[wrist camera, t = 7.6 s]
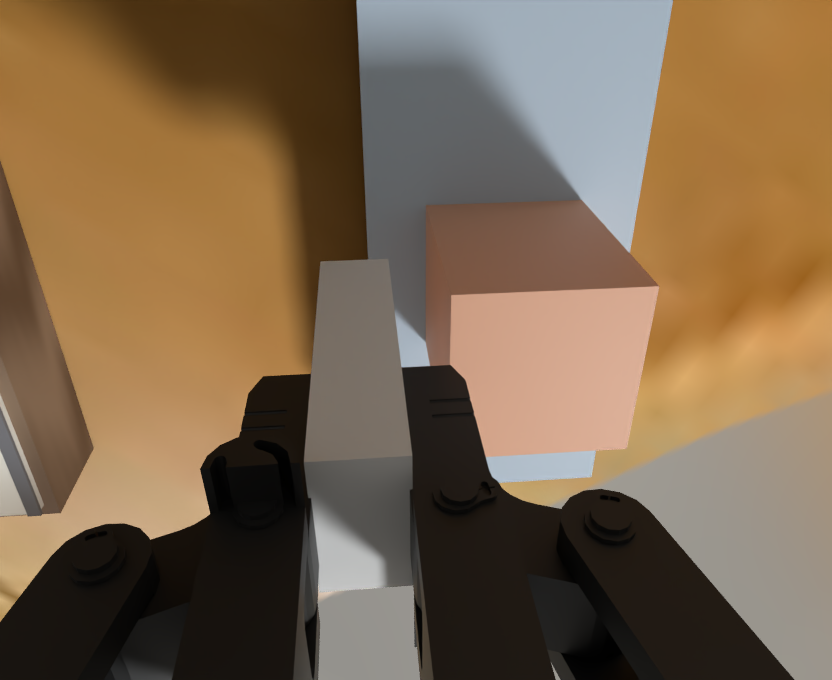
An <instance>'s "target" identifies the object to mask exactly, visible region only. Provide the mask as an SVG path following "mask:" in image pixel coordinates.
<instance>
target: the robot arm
mask: <svg viewBox="0 0 832 680" xmlns="http://www.w3.org/2000/svg"><path fill="white" fill-rule="evenodd" d="M200 470H201V475H202V479H203V483H204V488H205V492H206V496H207V501H208V505H209V509H210V515H209V516H207V517H206V518H204V519H203V520H201V521H199V522H198V523H196V524H195V525H192V526H190V527H187V528H185V529H182V530H180V531H177V532H174V533H170V534H167V535H164V536H161V537H158V538H155V539H151V540H150V539H149V537H148V536H147V535H146V534H145V533H144V532H143V531H142V530H141V529H140V528H137V527H134V526H131V525H128V524H105V525H101V526H98V527H95V528H91V529H88V530H85V531H83V532H82V533H80V534H78V535H76V536H75V537H73V538H71V539H69V540H68V541H66V542H65V543H64V544H63V545H62V546H61V547H60V548H59V549H58V550H57V551H56V552H55V553H54V554H53V555H52V556H51V557H50V558H49V560H48V561H47V562H46V563H45V565H44V566H43V567H42V569H41V570H40V571H39V573H38V574H37V575H36V576H35V578H34V579H33V580H32V582H31V583H30V584H29V585H28V587H27V588H26V589H25V591H24V592H23V593H22V595H21V596H20V597H19V598H18V600H17V601H16V602H15V604H14V605H13V606H12V607H11V609H10V610H9V611H8V613H7V614H6V615H5V617H4V618H3V619H2V620H1V622H0V680H318V666H319V665H318V664H319V639H320V620H319V612H318V604H317V601H318V584H319V592H331V591H344V590H357V589H371V588H384V587H397V586H410V585H413V587H414V627H415V628H414V629H415V632H414V633H415V647H417V650H418V661H419V671H420V680H556V679H555V676H554V672H553V669H552V665H553V666H554V668H555V670H556V672H557V674H558V676H559V677H560V679H561V680H794V679H793V678H792V676H790V674H789V673H788V672H787V671H786V669H785V668H784V667H783V666H782V665H781V664H780V663H779V661H778V660H777V659H776V658H775V657H774V655H773V654H772V653H771V652H770V651H769V650H768V648H767V647H766V646H765V645H764V644H763V643H762V641H761V640H760V639H759V638H758V637H757V636H756V634H755V633H754V632H753V631H752V630H751V629H750V627H749V626H748V625H747V624H746V623H745V622H744V620H743V619H742V618H741V617H740V616H739V615H738V613H737V612H736V611H735V610H734V609H733V608H732V606H731V605H730V604H729V603H728V602H727V601H726V599H725V598H724V597H723V596H722V595H721V594H720V592H719V591H718V590H717V589H716V588H715V587H714V585H713V584H712V583H711V582H710V581H709V580H708V578H707V577H706V576H705V575H704V574H703V573H702V571H701V570H700V569H699V568H698V567H697V565H695V563H694V562H693V561H692V560H691V558H690V557H689V556H688V555H687V554H686V553H685V551H684V550H683V549H682V548H681V547H680V546H679V545H678V544H677V542H676V541H675V540H674V539H673V538H672V536H671V535H670V534H669V533H668V532H667V530H666V529H665V528H664V527H663V526H662V525H661V523H660V522H659V521H658V520H657V519H656V518H655V516H654V515H653V514H652V513H651V512H650V511H649V510H648V509H646V508H645V507H644V506H643V505H642V504H641V503H639V502H638V501H637V500H635V499H633V498H631V497H629V496H626V495H624V494H622V493H620V492H615V491H609V490H603V489H597V490H586V491H582V492H580V493H578V494H576V495H574V496H572V497H570V498H569V500H568V501H567V502H566V503H565V505H564V506H563V507H562V509H558V508H553V507H548V506H542V505H537V504H533V503H529V502H526V501H522V500H520V499H518V498H516V497H514V496H512V495H510V494H509V493H507V492H506V491H505V490H503V489H502V488H501V486H500V484H499V483H498V481H497V480H496V479H494V478H493V477H492V475H491V473H490V471H489V468H488V464H487V460H486V456H485V452H484V449H483V445H482V441H481V437H480V433H479V429H478V426H477V422H476V418H475V416H474V410H473V407H472V403H471V401H470V395H469V391H468V387H467V384H466V380H465V379H464V378H463V377H462V376H461V375H460V374H459V373H458V372H457V371H456V370H455V369H454V368H453V367H452V366H451V365H439V366H419V367H401V359H400V351H399V343H398V335H397V326H396V318H395V310H394V302H393V294H392V286H391V278H390V269H389V261H388V259H369V260H344V261H320V273H319V285H318V297H317V309H316V321H315V333H314V345H313V357H312V370H311V374H300V375H281V376H263V377H262V379H261V380H260V381H259V382H258V383H257V384H256V385H255V387H254V388H253V389H252V390H251V391H250V392H249V394H248V398H247V403H246V408H245V416H244V417H243V422H242V426H241V431H240V436H239V437H238V438H235V439H233V440H231V441H229V442H226V443H224V444H222V445H220V446H219V447H218V448H216V449H215V450H214V451H213V452H212V453H210V454H209V455H208V456H207V457H206V459H205V461H204V463H203V465H202V466H201V468H200ZM551 663H552V665H551Z"/></svg>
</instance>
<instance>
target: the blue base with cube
mask: <svg viewBox="0 0 832 680" xmlns="http://www.w3.org/2000/svg"><path fill="white" fill-rule="evenodd" d="M672 3H673V0H356V7H357V29H358V51H359V72H360V94H361V116H362V138H363V160H364V182H365V204H366V226H367V248H368V260H369V259H388V261H389V269H390V278H391V286H392V294H393V302H394V310H395V318H396V326H397V335H398V343H399V351H400V359H401V367H419V366H439V365H451V366H452V367H453V368H454V369H455V370H456V371H457V372H458V373H459V374H460V375H461V376H462V377H463V378H464V379H465V380H466V384H467V387H468V391H469V395H470V401H471V403H472V407H473V410H474V416H475V418H476V422H477V426H478V429H479V433H480V437H481V441H482V445H483V449H484V452H485V456H486V460H487V464H488V468H489V471H490V473H491V475H492V477H493V478H494V479H496V480H497V481H498V483H503V482H519V481H535V480H551V479H567V478H583V477H591V476H592V470H593V464H594V458H595V452H596V450H613V449H627V444H628V439H629V434H630V429H631V424H632V419H633V414H634V409H635V404H636V399H637V394H638V389H639V384H640V379H641V374H642V370H643V365H644V360H645V355H646V350H647V345H648V340H649V335H650V330H651V325H652V320H653V315H654V310H655V305H656V300H657V295H658V290H659V285H658V284H657V283H656V282H655V281H654V280H653V279H652V278H651V277H650V275H649V274H648V273H647V272H646V271H645V270H644V269H643V268H642V266H641V265H640V264H639V263H638V262H637V261H636V260H635V259H634V258H633V256H632V255H631V254H630V248H631V242H632V236H633V231H634V225H635V219H636V213H637V207H638V201H639V196H640V190H641V184H642V178H643V172H644V166H645V161H646V155H647V149H648V143H649V137H650V131H651V126H652V120H653V114H654V108H655V102H656V96H657V90H658V85H659V79H660V73H661V67H662V61H663V55H664V50H665V44H666V38H667V32H668V26H669V20H670V15H671V9H672Z"/></svg>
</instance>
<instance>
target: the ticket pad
mask: <svg viewBox="0 0 832 680" xmlns="http://www.w3.org/2000/svg"><path fill="white" fill-rule="evenodd" d="M92 450H93V445H92V442H91V439H90V436H89V433H88V430H87V427H86V424H85V420H84V417H83V414H82V411H81V408H80V405H79V402H78V399H77V396H76V393H75V390H74V387H73V384H72V380H71V377H70V374H69V371H68V368H67V365H66V362H65V359H64V356H63V353H62V350H61V347H60V344H59V341H58V337H57V334H56V331H55V328H54V325H53V322H52V319H51V316H50V313H49V310H48V307H47V304H46V301H45V298H44V294H43V291H42V288H41V285H40V282H39V279H38V276H37V273H36V270H35V267H34V264H33V261H32V258H31V255H30V251H29V248H28V245H27V242H26V239H25V236H24V233H23V230H22V227H21V224H20V221H19V218H18V215H17V211H16V208H15V205H14V202H13V199H12V196H11V193H10V190H9V187H8V184H7V181H6V178H5V175H4V172H3V168H2V165H1V162H0V517H4V516H20V515H28V516H41V515H42V514H52V513H61V511H62V509H63V507H64V505H65V503H66V501H67V499H68V497H69V495H70V494H71V492H72V490H73V488H74V486H75V484H76V482H77V480H78V478H79V476H80V474H81V472H82V470H83V468H84V466H85V464H86V462H87V460H88V458H89V456H90V454H91V452H92Z"/></svg>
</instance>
